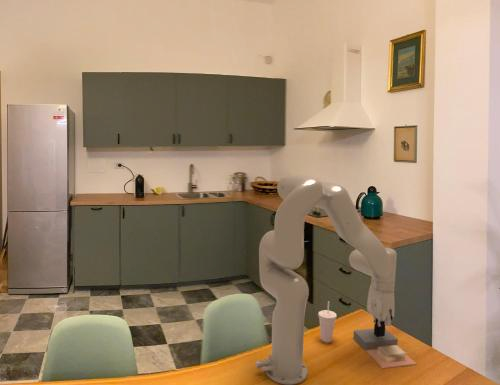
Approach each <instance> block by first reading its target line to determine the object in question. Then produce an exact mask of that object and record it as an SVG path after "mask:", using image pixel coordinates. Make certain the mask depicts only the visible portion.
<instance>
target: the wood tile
mask: <svg viewBox="0 0 500 385" xmlns="http://www.w3.org/2000/svg"><path fill="white" fill-rule="evenodd" d="M377 354H378V355H379V356H380V357H381V358H382V359H383V360H384V361H385V362H394V361H403V360H405V355H407V353H406V352H405V351H404V350H403V349H402V348H401V347H400V346H398V344H397V345H392V346H383V347H378V350H377Z"/></svg>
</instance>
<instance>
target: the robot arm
mask: <svg viewBox="0 0 500 385" xmlns="http://www.w3.org/2000/svg"><path fill="white" fill-rule="evenodd" d="M276 189H277V194H278V196H279V197H280V198H281V199H282V200H283V201H282V202H281V203H280V205H279V207H278V208H277V210H276V212H275V216H274V225H273V226H274V227H273V229H272V230H270V231H267V232H266V233H265V234H264V235H263V236H262V238H261V239H260V241H259V246H258V247H259V248H258V265H259V269H258V270H259V271H258V272H259V281H260V282H259V283H260V284H261V286H262V288H263V289H264V290H265V292H267V293H268V294H270V295H271V296H272V297H273V298H274V299H275V300H276V302H275V303H276V304H275V307H274V308H273V311H272V318H271V354H269V355H268V358H265V360H256V361H255V368H256V369H260V368H261V372H265V374H266V375H267V377H268V378H269V379H270V380H271V381H273V382H275V383H278V384H281V385H296V384H300V383H302V382H304V381H305V380H306V379H307V377H308V368H307V366H306V365H305V364H304V363H303V360H304V359H303V358H304V339H305V338H304V337H305V336H304V335H305V314H306V306H307V303H308V299H309V295H310V294H309V293H310V292H309V285H308V283H307V281H306V280H305V278H304V277H303V276H301V275H300V274H299V273H297V272H295V271H294V270H296V269H298V268H300V266H301V265H302V264H303V262H304V256H305V242H304V241H305V240H304V239H305V231H304V230H305V221H306V218H307V216H308V214H309V212H310V211H311V210H312V209H313V208H317V209H321V210H324V212H326V215H327V216H328V218H329V221H330V222H331V224H332V226H333V228H334V230H335V232H336V235H338V237H340V239H342V240H343V241H345V243H347V244H349V245H350V246H351V247H353V248H354V250H352V251H351V253H350V254H349V257H348V261H349V264H350V266H351V267H352V268H353V269H354V270H356V271H358V272H360V273H363V274H365V275H367V276H370V277H371V280H370V281H371V282H370V285H369V289H368V294H367V302H366V303H367V304H366V310H367V312H368V313H370V314H371V315H372V317H373V323H374V325H373V326H374V327H373V329H374V335H376V337H382V336H385V329H386V327H391V326H392V321H394V318H395V310H396V308H395V307H396V306H395V303H396V302H395V284H396V270H397V257H398V256H397V251H396V250H395V249H394V248H390V247H387V246H386V247H385V245H384V244H383V243H382V241H381V240H380V239H379V238H378V237H377V236H376V235H375V234H374V232H373V231H372V230H371V229H370V228H369V227H368V226H367V225H366V224H365V223H364V222H363V221H362V218H361V217H360V214H359V212H358V211H357V209H356V206H355V204H354V203H353V199H352V198H351V196H350V194H349V192H348V190H347V189H346V188H345V187H343V185H341V184H340V185H339V184H336V183H330V182H325V181H320V180H318V179H317V178H314V177H311V176H307V175H299V174H292V173H290V174H285V175H284V176H282V177H281V178H280V179H279V180H278V183H277V188H276Z"/></svg>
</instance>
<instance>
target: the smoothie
mask: <svg viewBox="0 0 500 385" xmlns="http://www.w3.org/2000/svg"><path fill="white" fill-rule="evenodd" d="M317 316H318V319H319V331H320V340H321V341H322V342H324V343H330V342H332V339H333V335H334V329H335V323H336V319H337V318H338V317H337V313H336V312H335V311H332V310H330V301H327V309H323V310H320V311H318V314H317Z"/></svg>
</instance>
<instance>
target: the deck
mask: <svg viewBox="0 0 500 385" xmlns="http://www.w3.org/2000/svg"><path fill="white" fill-rule="evenodd" d="M352 337H353V338H352V339H353V340H354V341H355V342H356V343H357V344H358V345H359V346H360V347H361V348H362V350H364V351H365V350H369V349H378V347H383V346H392V345H397V346H398V341H399V340H398V338H397V337H396V336H395V335H394V334H392V333H391V332H389V331H388V329H387V328H385V336H382V337H376V335H374V328H365V329H357V330H356V329H355V330H353V336H352Z"/></svg>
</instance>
